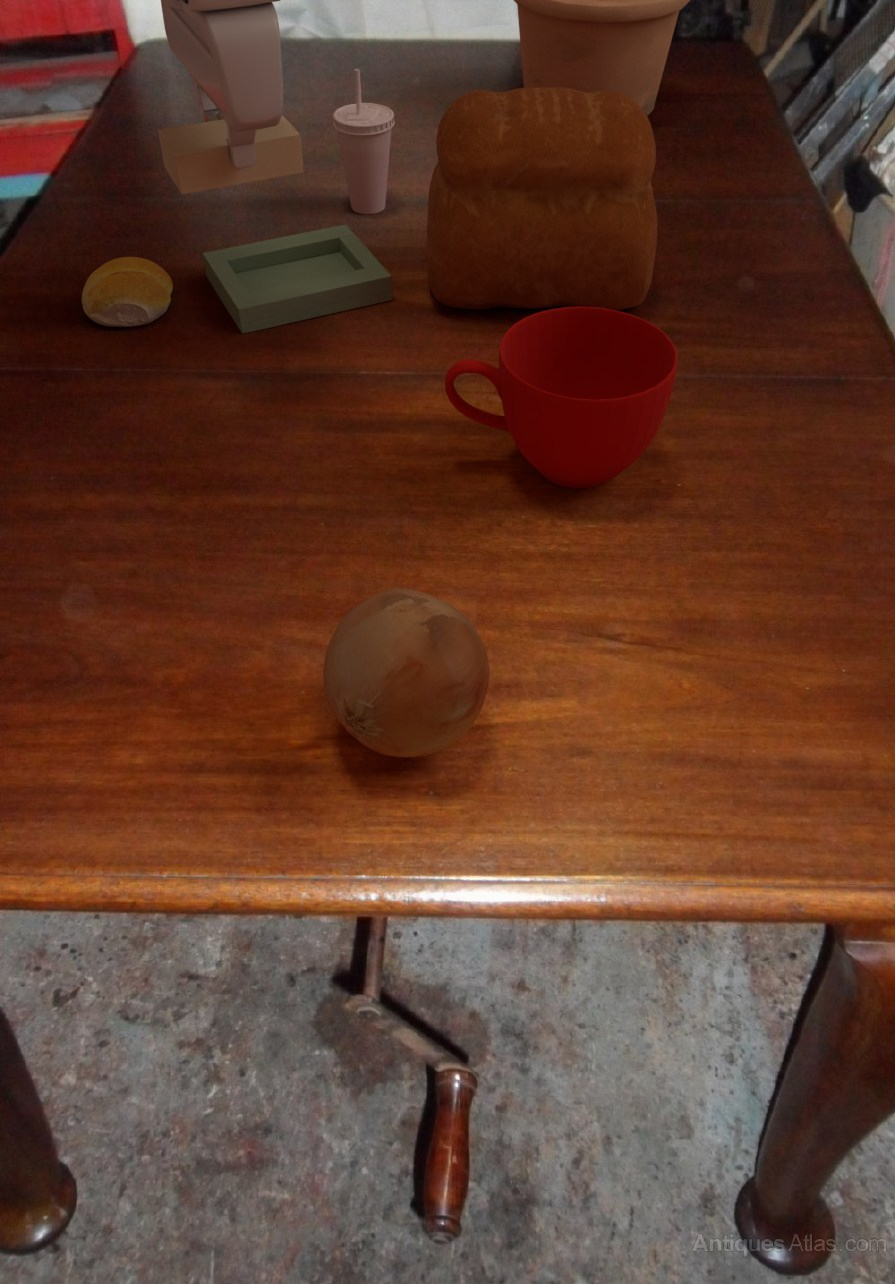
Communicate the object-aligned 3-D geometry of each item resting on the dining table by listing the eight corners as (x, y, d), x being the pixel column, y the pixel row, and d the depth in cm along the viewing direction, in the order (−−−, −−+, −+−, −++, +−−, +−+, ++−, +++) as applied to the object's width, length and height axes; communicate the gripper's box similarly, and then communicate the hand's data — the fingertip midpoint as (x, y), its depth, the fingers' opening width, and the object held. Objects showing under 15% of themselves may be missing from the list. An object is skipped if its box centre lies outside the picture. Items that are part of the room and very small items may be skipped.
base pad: (242, 334, 98) (238, 309, 96) (206, 276, 105) (202, 252, 103) (392, 300, 102) (391, 276, 100) (347, 247, 110) (346, 223, 108)
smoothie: (326, 207, 116) (315, 68, 106) (369, 189, 119) (361, 52, 109) (367, 225, 113) (360, 84, 103) (409, 206, 116) (406, 67, 106)
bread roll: (176, 280, 105) (168, 241, 102) (170, 327, 99) (162, 287, 96) (90, 285, 104) (80, 246, 101) (79, 332, 98) (68, 292, 95)
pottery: (560, 63, 147) (568, -58, 137) (704, 97, 139) (724, -29, 128) (470, 111, 135) (472, -17, 125) (622, 152, 126) (637, 17, 116)
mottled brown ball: (301, 764, 64) (283, 649, 56) (368, 651, 70) (360, 535, 63) (453, 812, 61) (453, 698, 54) (508, 690, 68) (515, 575, 60)
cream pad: (181, 194, 83) (174, 155, 80) (164, 168, 86) (157, 129, 84) (304, 173, 85) (300, 134, 83) (282, 147, 89) (278, 110, 87)
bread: (428, 238, 111) (426, 63, 99) (633, 238, 111) (656, 63, 99) (426, 324, 99) (423, 137, 87) (656, 324, 99) (685, 137, 87)
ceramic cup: (447, 413, 89) (447, 303, 82) (650, 417, 89) (668, 307, 81) (442, 512, 80) (441, 398, 73) (667, 516, 80) (689, 402, 72)
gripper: (125, -84, 80) (160, 109, 90) (195, -9, 67) (227, 206, 77) (206, -92, 82) (232, 98, 92) (290, -21, 69) (309, 191, 79)
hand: (230, 148), depth 85 cm, fingers closed on cream pad, 5 cm apart
